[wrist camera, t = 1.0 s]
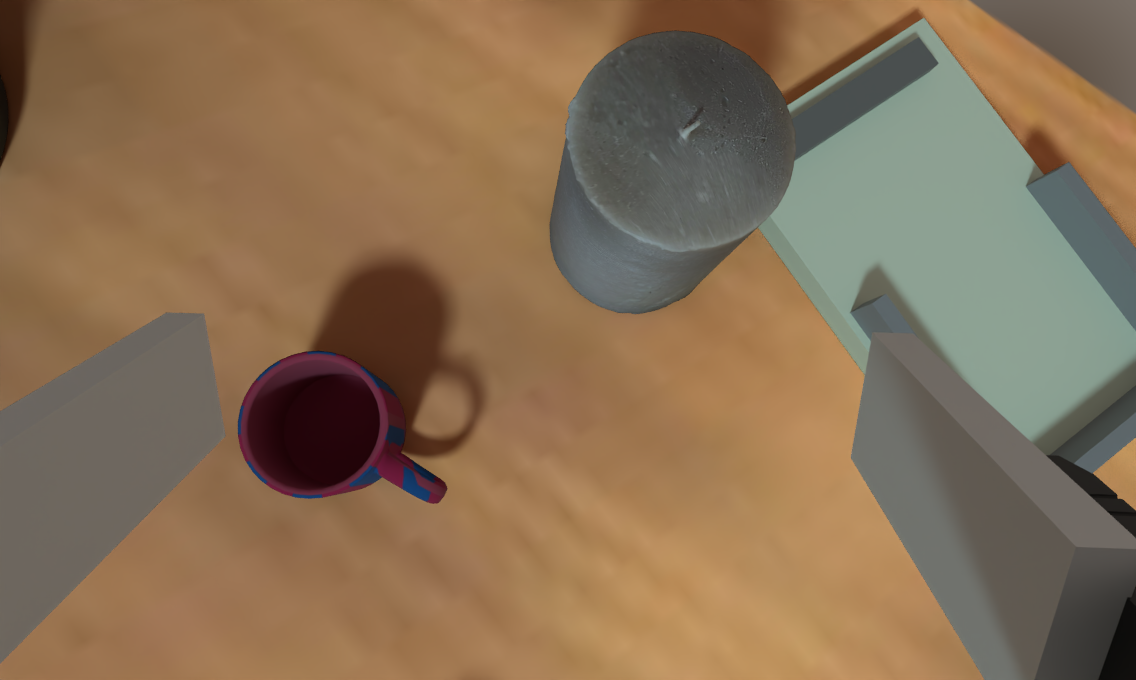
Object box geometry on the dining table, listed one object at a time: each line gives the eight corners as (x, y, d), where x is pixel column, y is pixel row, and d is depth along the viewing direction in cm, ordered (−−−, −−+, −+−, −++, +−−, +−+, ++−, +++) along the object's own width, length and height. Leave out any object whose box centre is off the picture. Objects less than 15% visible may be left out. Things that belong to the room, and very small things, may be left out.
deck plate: (710, 162, 45) (734, 129, 41) (906, 35, 48) (948, -8, 43) (970, 521, 43) (1025, 528, 39) (1159, 368, 46) (1230, 359, 41)
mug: (335, 344, 41) (305, 321, 34) (478, 454, 41) (475, 453, 34) (253, 441, 40) (205, 437, 33) (400, 555, 40) (380, 574, 33)
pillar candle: (705, 159, 45) (802, 11, 30) (713, 317, 43) (821, 241, 29) (545, 157, 44) (565, 4, 29) (548, 317, 43) (570, 240, 28)
